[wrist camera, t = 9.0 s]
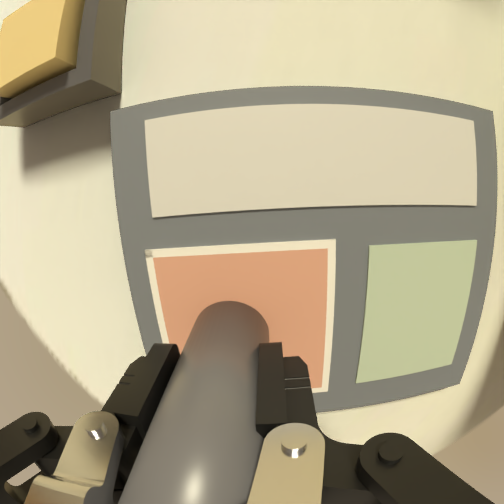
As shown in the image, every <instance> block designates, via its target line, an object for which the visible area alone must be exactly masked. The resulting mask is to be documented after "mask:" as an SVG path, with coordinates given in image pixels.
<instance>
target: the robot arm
mask: <svg viewBox="0 0 504 504" xmlns="http://www.w3.org/2000/svg"><path fill="white" fill-rule="evenodd" d="M179 357H180V352H179V348H178V346H177V344H168V343H154V344H153V346H152V347H151V349H150V351H149V352H148V354H147V356H146V357H144V356H141V357H139V358H138V359H137V360H135V361H134V362H133V363H131V364H130V365H129V367H128V369H127V370H126V372H125V373H124V376H122V378H121V380H120V381H119V384H117V386H116V388H115V389H114V391H113V392H112V394H111V396H110V397H109V399H108V400H107V402H106V404H105V405H104V407H103V408H102V410H101V411H94V412H90V413H87V414H85V415H83V416H82V417H80V418H79V419H78V420H77V421H76V423H75V425H74V426H54V425H53V424H52V422H51V421H50V419H49V417H48V416H47V415H46V414H44V413H41V412H31V413H28V414H25V415H23V416H22V417H20V418H19V419H17V420H15V421H14V422H12V423H11V424H9V425H7V426H6V427H4V428H2V429H1V430H0V504H118V503H119V500H120V497H121V495H122V492H123V490H124V487H125V485H126V482H127V480H128V477H129V475H130V473H131V470H132V468H133V465H134V463H135V460H136V458H137V455H138V453H139V451H140V448H141V446H142V443H143V441H144V438H145V436H146V434H147V431H148V429H149V427H150V424H151V422H152V419H153V417H154V415H155V412H156V410H157V408H158V405H159V403H160V401H161V398H162V396H163V394H164V391H165V389H166V387H167V384H168V382H169V380H170V378H171V375H172V373H173V371H174V368H175V366H176V364H177V362H178V359H179ZM255 425H256V432H258V433H259V434H260V435H261V436H262V437H263V438H264V442H263V446H262V450H261V454H260V458H259V462H258V466H257V469H256V473H255V477H254V481H253V484H252V488H251V492H250V495H249V499H248V502H247V504H494V503H493V502H491V501H490V500H489V499H487V498H486V497H484V496H483V495H482V494H480V493H479V492H478V491H476V490H475V489H474V488H472V487H471V486H470V485H468V484H467V483H466V482H464V481H463V480H462V479H461V478H459V477H458V476H457V475H455V474H454V473H453V472H451V471H450V470H449V469H448V468H446V467H445V466H444V465H442V464H441V463H440V462H439V461H437V460H436V459H435V458H434V457H432V456H431V455H430V454H429V453H427V452H426V451H425V450H424V449H422V448H421V447H420V446H419V445H417V444H416V443H415V442H414V441H413V440H411V439H410V438H408V437H407V436H404V435H402V434H398V433H383V434H379V435H376V436H374V437H372V438H371V439H369V440H368V441H367V442H366V443H365V444H364V445H356V444H346V443H340V442H337V441H334V440H332V439H330V438H328V437H327V436H326V435H324V434H323V433H322V431H321V430H320V428H319V426H318V423H317V417H316V411H315V405H314V399H313V394H312V388H311V382H310V379H309V371H308V366H307V364H306V363H305V362H304V361H303V360H302V359H301V358H300V357H299V356H291V357H283V350H282V342H271V343H259V363H258V384H257V404H256V423H255ZM32 463H35V464H36V465H37V466H38V467H39V468H40V469H41V471H40V472H39V473H38V474H36V475H35V476H33V477H32V478H31V479H29V480H27V481H26V482H24V483H23V484H21V485H20V486H12V485H10V484H9V483H8V482H7V480H8V479H10V478H11V477H13V476H14V475H16V474H17V473H19V472H20V471H22V470H23V469H25V468H26V467H28V466H29V465H31V464H32Z"/></svg>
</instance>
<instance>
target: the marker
mask: <svg viewBox="0 0 504 504" xmlns="http://www.w3.org/2000/svg"><path fill="white" fill-rule="evenodd" d="M259 343H269V328H268V325H267V323H266V321H265V319H264V318H263V316H262V315H261V314H260V313H259V312H258V311H257V310H255V309H254V308H252V307H251V306H249V305H247V304H244V303H241V302H237V301H221V302H217V303H214V304H211V305H210V306H208V307H206V308H205V309H204V310H203V311H202V312H201V313H200V314H199V315H198V317H197V319H196V321H195V323H194V326H193V328H192V330H191V332H190V335H189V337H188V339H187V341H186V343H185V346H184V348H183V350H182V353H181V355H180V357H179V359H178V362H177V364H176V366H175V368H174V371H173V373H172V375H171V378H170V380H169V382H168V384H167V387H166V389H165V391H164V394H163V396H162V398H161V401H160V403H159V405H158V408H157V410H156V412H155V415H154V417H153V419H152V422H151V424H150V427H149V429H148V431H147V434H146V436H145V438H144V441H143V443H142V446H141V448H140V451H139V453H138V455H137V458H136V460H135V463H134V465H133V468H132V470H131V473H130V475H129V477H128V480H127V482H126V485H125V487H124V490H123V492H122V495H121V497H120V500H119V503H118V504H247V502H248V499H249V495H250V492H251V488H252V484H253V481H254V477H255V473H256V469H257V466H258V462H259V458H260V454H261V450H262V446H263V442H264V438H263V437H262V436H261V435H260V434H259V433H258V432H256V425H255V423H256V404H257V384H258V363H259Z"/></svg>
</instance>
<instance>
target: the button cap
mask: <svg viewBox="0 0 504 504" xmlns="http://www.w3.org/2000/svg"><path fill="white" fill-rule="evenodd" d="M84 4H85V0H31V1H30V2H28V3H27V4H25V5H24V6H22V7H21V8H19V9H18V10H16V11H15V12H13V13H12V14H11V15H9V16H8V17H6V18H5V19H4V20H3V24H2V28H1V31H0V97H5V98H11V99H13V98H14V97H16V96H18V95H20V94H22V93H24V92H25V91H27V90H29V89H31V88H33V87H35V86H37V85H39V84H41V83H43V82H46V81H48V80H50V79H52V78H54V77H56V76H59V75H61V74H63V73H66V72H68V71H70V70H73V69H75V68H76V64H77V53H78V44H79V36H80V28H81V22H82V16H83V10H84Z"/></svg>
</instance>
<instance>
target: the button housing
mask: <svg viewBox="0 0 504 504" xmlns="http://www.w3.org/2000/svg"><path fill="white" fill-rule="evenodd" d="M126 2H127V0H85V4H84V10H83V16H82V22H81V28H80V36H79V44H78V53H77V64H76V68H75V69H73V70H70V71H68V72H66V73H63V74H61V75H59V76H56V77H54V78H52V79H50V80H48V81H46V82H43V83H41V84H39V85H37V86H35V87H33V88H31V89H29V90H27V91H25V92H24V93H22V94H20V95H18V96H16V97H14V98H13V99H11V98H5V97H0V126H13V127H27V126H29V125H31V124H33V123H36V122H38V121H40V120H43V119H45V118H48V117H50V116H53V115H56V114H58V113H61V112H63V111H66V110H69V109H72V108H75V107H78V106H80V105H83V104H87V103H90V102H93V101H96V100H99V99H103V98H106V97H109V96H113V95H117V94H120V93H121V73H122V48H123V33H124V21H125V11H126Z"/></svg>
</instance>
